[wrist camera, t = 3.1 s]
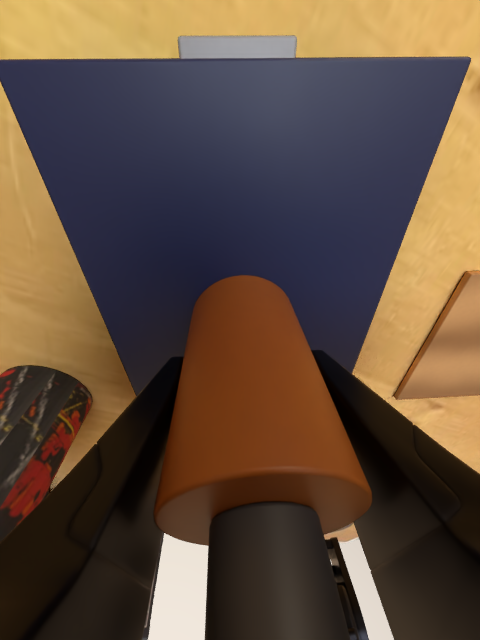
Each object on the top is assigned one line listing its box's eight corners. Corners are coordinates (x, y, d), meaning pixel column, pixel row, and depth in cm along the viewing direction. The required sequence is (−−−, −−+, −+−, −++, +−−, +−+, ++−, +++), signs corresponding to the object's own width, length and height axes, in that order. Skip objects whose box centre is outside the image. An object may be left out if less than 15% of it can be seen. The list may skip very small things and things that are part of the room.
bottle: (287, 353, 12) (386, 679, 5) (198, 358, 12) (155, 701, 4) (298, 272, 9) (563, 714, 2) (185, 276, 9) (32, 769, 2)
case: (321, 380, 18) (336, 416, 15) (158, 388, 17) (148, 427, 15) (411, 57, 8) (490, 18, 6) (49, 60, 8) (-31, 19, 5)
